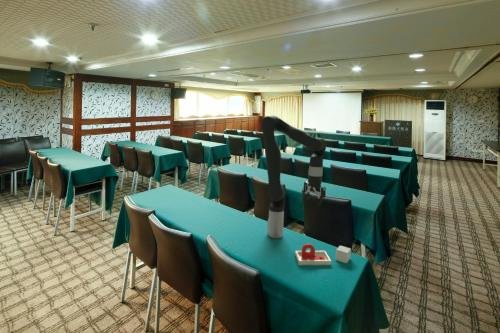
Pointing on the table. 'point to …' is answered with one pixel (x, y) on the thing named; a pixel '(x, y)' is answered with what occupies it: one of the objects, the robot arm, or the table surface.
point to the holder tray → (313, 262)
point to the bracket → (310, 253)
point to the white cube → (343, 254)
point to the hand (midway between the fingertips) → (313, 202)
